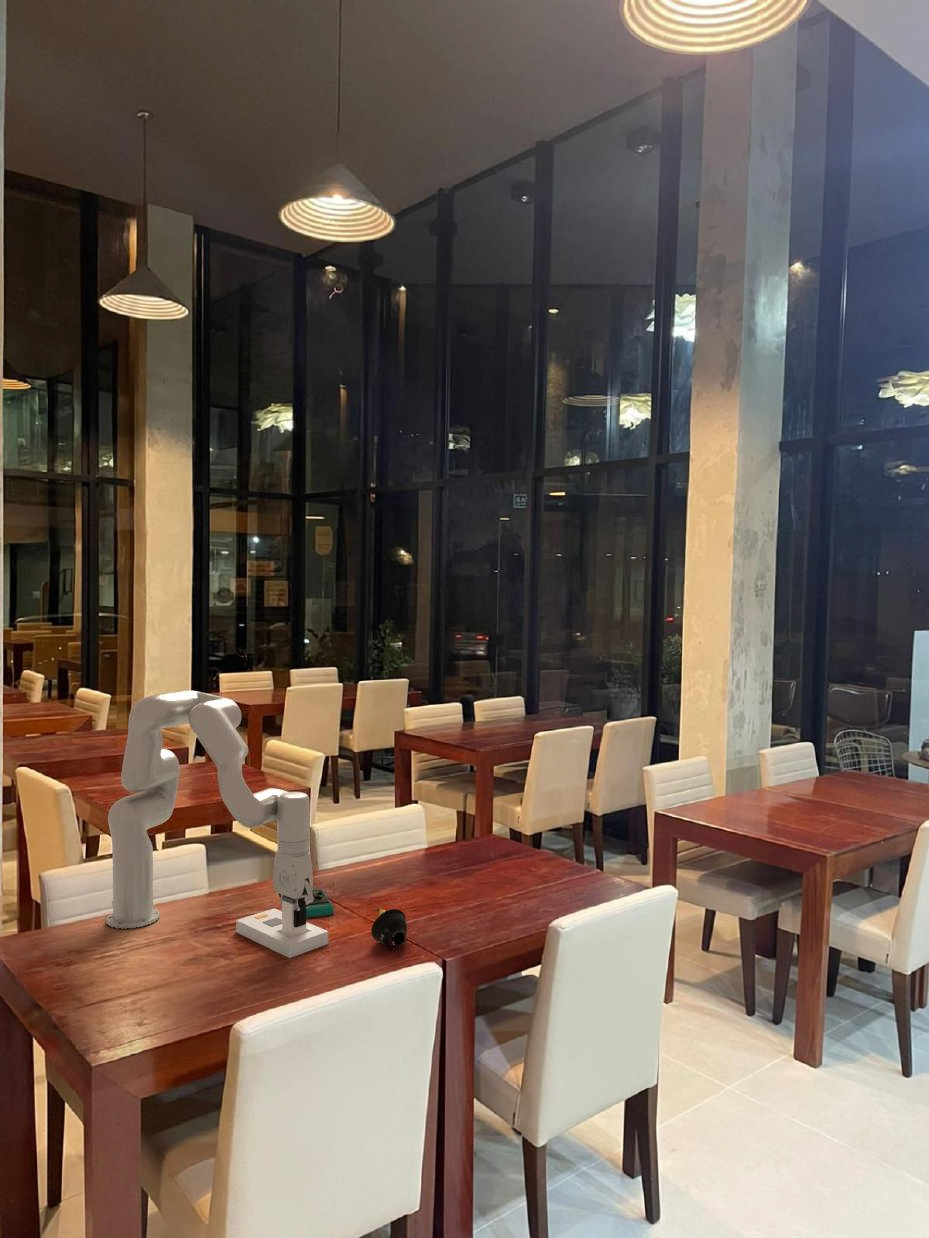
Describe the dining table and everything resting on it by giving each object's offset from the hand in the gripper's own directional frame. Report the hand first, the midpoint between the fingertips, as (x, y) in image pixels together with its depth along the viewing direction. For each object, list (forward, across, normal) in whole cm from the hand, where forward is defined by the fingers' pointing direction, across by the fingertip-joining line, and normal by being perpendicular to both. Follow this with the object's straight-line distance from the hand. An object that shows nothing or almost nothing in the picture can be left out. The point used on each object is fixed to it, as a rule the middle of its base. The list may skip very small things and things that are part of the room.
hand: (294, 922), depth 200 cm
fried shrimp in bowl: (+5, +13, +18) cm, 23 cm away
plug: (+3, 0, 0) cm, 3 cm away
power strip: (+5, -5, 0) cm, 7 cm away
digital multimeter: (+6, -16, +18) cm, 25 cm away
